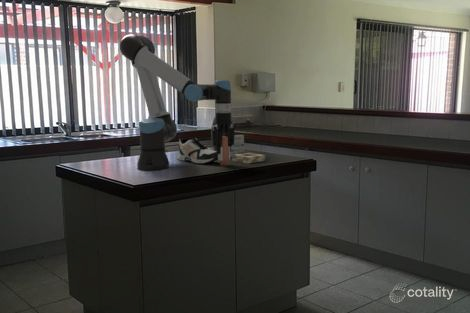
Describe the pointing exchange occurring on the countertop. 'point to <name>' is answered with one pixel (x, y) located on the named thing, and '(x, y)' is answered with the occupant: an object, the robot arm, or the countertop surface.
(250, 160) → the socket
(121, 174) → the countertop surface
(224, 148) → the peg
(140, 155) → the robot arm
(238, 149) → the ink box
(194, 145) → the running shoe
